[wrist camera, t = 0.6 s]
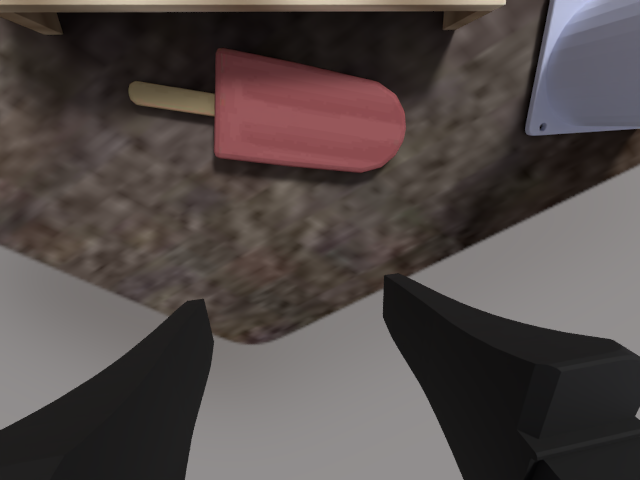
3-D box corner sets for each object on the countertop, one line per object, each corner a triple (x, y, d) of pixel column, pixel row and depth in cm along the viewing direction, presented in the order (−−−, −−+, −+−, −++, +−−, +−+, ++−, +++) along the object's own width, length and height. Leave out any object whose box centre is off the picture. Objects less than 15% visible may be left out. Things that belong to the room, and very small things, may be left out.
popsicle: (117, 25, 13) (418, 84, 16) (131, 34, 15) (405, 88, 18) (127, 147, 15) (396, 180, 18) (139, 145, 17) (386, 176, 20)
